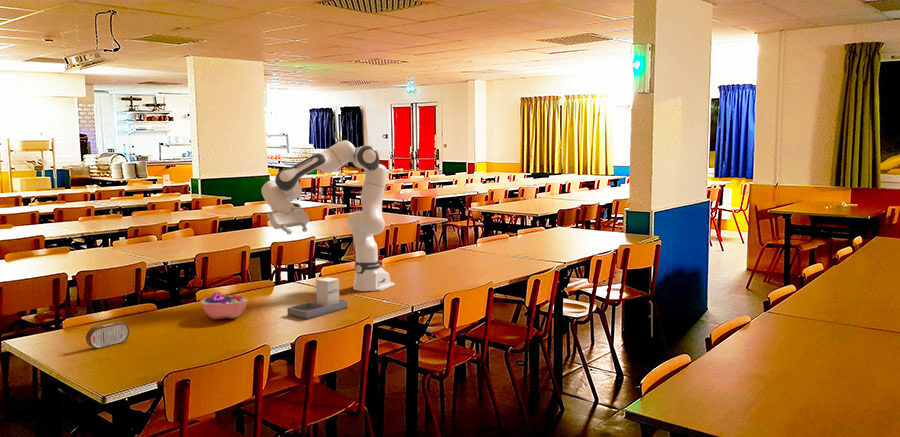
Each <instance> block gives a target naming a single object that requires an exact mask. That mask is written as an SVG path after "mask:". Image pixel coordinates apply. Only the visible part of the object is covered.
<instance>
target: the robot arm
mask: <svg viewBox="0 0 900 437" xmlns="http://www.w3.org/2000/svg"><path fill="white" fill-rule="evenodd" d="M348 163H350V164H351V165H352V166H354V167H355V168H357V169H360V170H363V171H364V174H365V176H364V181H363V185H362V190H361V193H360V201H361V206H362V210H358V211H353V212H352V213H350V214H349V215H348V217H347V226H348V227H349V229H350V231H351V235H352V238H353V242H354V248H355V251H354V252H355V261H354V269H355V271H354V272H355V273H354V282H353V286H352V287H353V290H355V291H358V292H375V291H376V292H380V291H384V290H386V289H389V288H391V287H393V286H395V285H396V284H395V282H393V281H391V276H390V273H388V271H386V270H385V269H383V267H381V265H384V263H385V261H384V260H381V259H380V260H379V255H378V244H377V242H376V241H375V238H374V236H376V235H379V234H381V233H382V232H384V230H385V228H386V227H385V226H386V222H385V219H384V216H383V201H384V200H383V199H384V194H385V190H386V186H387V179H388V170H387V167H386V166H385V165H383V164H381V160H380V157H379V153H378V151H377V149H376V148H375V147H373V146H371V145H362V146H359V147H355V145H354V144H353V143H351V141H349V140H347V139H346V140H342V141H338V142H337V143H335V144H333V145H332V146H330V147H328V148H327V149H325V150H323V151H322V152H320V153H317V154H316V153H315V154H313V155H311V156H309V157H307V158H306V159H304V160H302V161H300V162H298V163H297V164H294V165H293V166H290V167H287V168H283V169H281V170H280V171H278V173H276V176H275V179H274V180H268V181H266V182H265V183H264V184H263V186H262V187H261V196H263V199H264V201H265V202H266V204H267V205H268V206H270V209H271V211H268V212H267V214H266V217H267V218H268V221H269V223H270V225H271V226H272V228H273V229H275V230H279V229H281V230H282V231H284V232H285V234H287V235H291V234H292V230H291V229H289V228H292V227H299V226H300V227H302V228H301V231H302V232H303V233H305V232H307V231H308V228H307V224H308V223H310V217H309V215H308V214H307V212H306V211H305V210H304V209H303V208H302V205H301V204H300V203H296V202H292V201H294V200H296V199H298V198H299V197H300V196H301V195H302V192H303V187H302V186H301V183H300V179H301V178H302V177H304V176H307V174H309V173H311V172H313V171H315V170H320V171H322V172H324V173H326V174H332V173H334V172H336V171H338V170H339V169H341V168H342V167H343V166H345V165H346V164H348Z"/></svg>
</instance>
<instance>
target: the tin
mask: <svg viewBox="0 0 900 437" xmlns="http://www.w3.org/2000/svg"><path fill="white" fill-rule="evenodd" d="M129 336H130V327H129V326H128V325H127V324H126V323H124V322H123V321H113V322H108V323H102V324H97V325H94V326H93V327H91V328H90V329H89V330H88V331H87V333H86V336H85V341H86V343H87V346H89V347H90V348H93V349H97V348H99V349H103V348H102V347H104V348H107V347H106V346H108V347H111V346H110V345H113V344H117V345H119V344H118V343H121V344H123V343H124V342H125V341H126V340H127V339H128V338H129ZM122 342H123V343H122ZM113 346H114V345H113Z"/></svg>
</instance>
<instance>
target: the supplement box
mask: <svg viewBox="0 0 900 437" xmlns="http://www.w3.org/2000/svg"><path fill="white" fill-rule="evenodd" d="M315 286H316V289H315V290H316V291H315V292H316V300H317V304H321V305H325V306H328V305H332V304H335V303H339V299H340V279H339V278H336V277H328V276H327V277H324V278H323V277H322V278H318V279H316V280H315Z"/></svg>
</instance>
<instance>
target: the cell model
mask: <svg viewBox="0 0 900 437" xmlns="http://www.w3.org/2000/svg"><path fill="white" fill-rule="evenodd" d="M248 301H249V299H248V298H247V297H245V296H243V295H238V294H230V295H229V294H228V295H226V294H225V295H221V293H220V292H219V291H216V292H213V293H212V294H211V295H210V296H207V297H205V298H203V299H201V300H200V304H201V307H202V309H203V311H204V312H205V313H206V314H207V316H209V317H210V318H211V319H213V320H224V319H235V318H237V317H239V316H240V315H241V314H243V313H244V311H245V309H246V306H247V305H248V304H247V303H248Z"/></svg>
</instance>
